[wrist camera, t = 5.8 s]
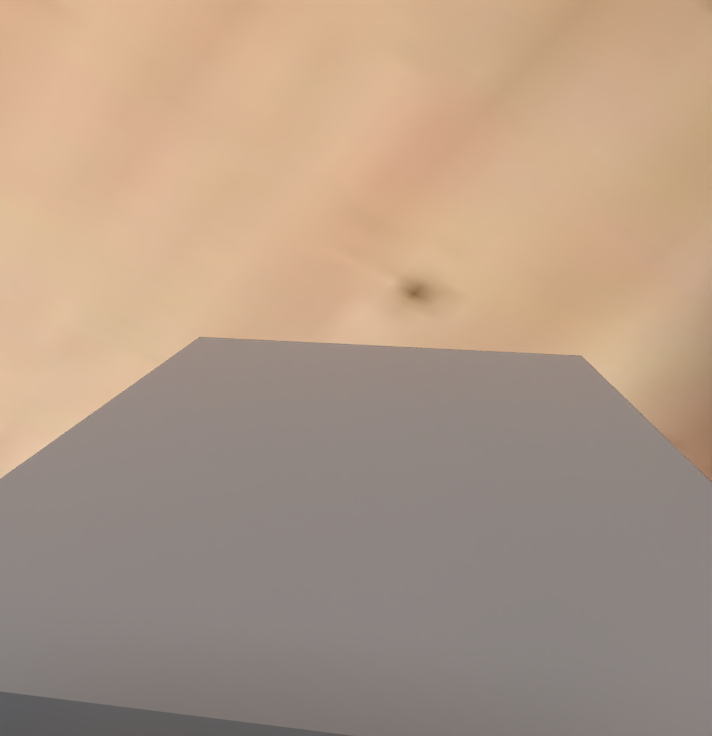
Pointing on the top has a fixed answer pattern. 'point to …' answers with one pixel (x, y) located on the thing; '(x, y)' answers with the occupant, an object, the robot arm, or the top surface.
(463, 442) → the gray rectangular platform
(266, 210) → the top surface
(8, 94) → the top surface
